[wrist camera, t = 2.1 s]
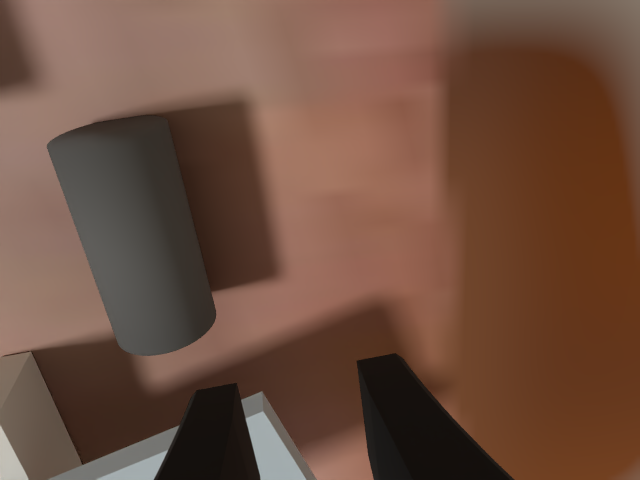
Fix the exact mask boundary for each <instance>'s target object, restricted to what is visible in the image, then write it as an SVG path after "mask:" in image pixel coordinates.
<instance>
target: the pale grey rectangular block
mask: <svg viewBox="0 0 640 480" xmlns="http://www.w3.org/2000/svg"><path fill="white" fill-rule="evenodd" d="M79 466H82V463H81V460H80V458H79V456H78V454H77V452H76V449H75V447H74V445H73V443H72V441H71V438H70V436H69V434H68V432H67V430H66V427H65V425H64V423H63V421H62V419H61V416H60V414H59V412H58V410H57V408H56V405H55V403H54V401H53V399H52V397H51V394H50V392H49V390H48V388H47V386H46V383H45V381H44V379H43V377H42V375H41V372H40V370H39V368H38V366H37V364H36V361H35V359H34V357H33V355H32V353H31V352H26V353H21V354H15V355H9V356H4V357H0V480H47V479H50V478H52V477H55V476H57V475H60V474H62V473H64V472H67V471H69V470H72V469H74V468H77V467H79Z"/></svg>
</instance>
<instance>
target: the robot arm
mask: <svg viewBox="0 0 640 480" xmlns="http://www.w3.org/2000/svg"><path fill="white" fill-rule="evenodd" d="M357 367H358V375H359V383H360V391H361V399H362V408H363V416H364V424H365V432H366V440H367V448H368V456H369V460H370V465H371V469H372V473H373V478H374V480H514V479H513V478H512V477H511V476H510V475H509V474H508V473H507V472H506V471H505V470H504V469H503V468H501V466H499V465H498V464H497V463H496V462H495V461H494V460H493V459H492V458H491V457H490V456H489V455H488V454H487V453H486V452H485V451H484V450H483V449H482V448H481V447H480V446H479V445H478V444H477V442H476V441H475V440H474V439H473V438H472V437H471V436H470V435H469V434H468V433H467V432H466V431H465V430H464V429H463V428H462V427H461V426H460V425H459V424H458V423H457V422H456V421H455V420H454V419H453V418H452V417H451V415H450V414H449V413H448V412H447V411H446V410H445V409H444V408H443V407H442V405H441V404H440V403H439V402H438V401H437V400H436V399H435V398H434V396H433V395H432V394H431V393H430V392H429V391H428V389H427V388H426V387H425V386H424V385H423V383H422V382H421V381H420V380H419V379H418V377H417V376H416V375H415V374H414V372H413V371H412V370H411V369H410V367H409V366H408V365H407V363H406V362H405V361H404V359H403V358H402V357H400V356H399V355H397V354H396V353H395V354H390V355H384V356H379V357H374V358H368V359H363V360H358V361H357ZM154 480H261V479H260V473H259V469H258V465H257V461H256V457H255V454H254V450H253V446H252V442H251V438H250V434H249V430H248V426H247V422H246V418H245V414H244V410H243V406H242V402H241V398H240V394H239V390H238V386H237V383H234V384H228V385H223V386H217V387H212V388H207V389H201V390H197V391H196V392H195V393H194V395H193V396H192V397H191V399H190V402H189V404H188V407H187V409H186V411H185V414H184V416H183V418H182V421H181V423H180V425H179V427H178V430H177V432H176V434H175V436H174V439H173V441H172V443H171V445H170V447H169V449H168V451H167V453H166V456H165V458H164V460H163V462H162V464H161V466H160V468H159V470H158V472H157V474H156V476H155V478H154Z"/></svg>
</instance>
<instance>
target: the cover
mask: <svg viewBox="0 0 640 480" xmlns="http://www.w3.org/2000/svg"><path fill="white" fill-rule="evenodd" d="M241 402H242V406H243V410H244V414H245V418H246V422H247V426H248V430H249V434H250V438H251V442H252V446H253V450H254V454H255V457H256V461H257V465H258V469H259V473H260V479H261V480H317V479H316V478H315V476H314V474H313V473H312V471H311V470H310V468H309V466H308V465H307V463H306V462H305V460H304V458H303V457H302V455H301V453H300V452H299V450H298V449H297V447H296V445H295V444H294V442H293V440H292V439H291V437H290V436H289V434H288V432H287V431H286V429H285V428H284V426H283V424H282V423H281V421H280V419H279V418H278V416H277V415H276V413H275V411H274V410H273V408H272V406H271V405H270V403H269V402H268V400H267V398H266V397H265V395H264V394H263V392H262V391H261V392H259V393H257V394H254V395H252V396H249V397H247V398H244V399H242V400H241ZM178 427H179V426H176V427H174V428H171V429H169V430H167V431H164V432H162V433H159V434H157V435H154V436H152V437H150V438H147V439H145V440H142V441H140V442H137V443H135V444H133V445H130V446H128V447H125V448H123V449H120V450H118V451H116V452H113V453H111V454H108V455H106V456H103V457H101V458H99V459H96V460H94V461H91V462H89V463H86V464H84V465H82V466H79V467H77V468H74V469H72V470H69V471H67V472H64V473H62V474H60V475H57V476H55V477H52V478H50V479H47V480H154V478H155V476H156V474H157V472H158V470H159V468H160V466H161V464H162V462H163V460H164V458H165V456H166V453H167V451H168V449H169V447H170V445H171V443H172V441H173V439H174V436H175V434H176V432H177V430H178Z"/></svg>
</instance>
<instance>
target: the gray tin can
mask: <svg viewBox="0 0 640 480" xmlns="http://www.w3.org/2000/svg"><path fill="white" fill-rule="evenodd" d="M47 149H48V152H49V155H50V157H51V160H52V163H53V166H54V168H55V171H56V174H57V177H58V179H59V182H60V185H61V188H62V190H63V193H64V196H65V199H66V201H67V204H68V207H69V210H70V213H71V215H72V218H73V221H74V224H75V226H76V229H77V232H78V235H79V237H80V240H81V243H82V246H83V248H84V251H85V254H86V257H87V260H88V262H89V265H90V268H91V271H92V273H93V276H94V279H95V282H96V284H97V287H98V290H99V293H100V295H101V298H102V301H103V304H104V306H105V309H106V312H107V315H108V318H109V320H110V323H111V326H112V329H113V331H114V334H115V337H116V340H117V342H118V344H119V346H120V347H121V348H122V349H123V350H124V351H126V352H128V353H131V354H135V355H141V356H151V355H160V354H165V353H169V352H173V351H176V350H178V349H181V348H183V347H186V346H188V345H190V344H191V343H193V342H195V341H196V340H198V339H199V338H201V337H202V336H203V335H204V334H205V333H206V332H207V331H208V330H209V329H210V328H211V327H212V325H213V323H214V322H215V319H216V309H215V305H214V301H213V297H212V293H211V289H210V286H209V282H208V278H207V274H206V270H205V266H204V262H203V258H202V254H201V250H200V246H199V242H198V238H197V234H196V230H195V227H194V223H193V219H192V215H191V211H190V207H189V203H188V199H187V195H186V191H185V187H184V183H183V179H182V175H181V172H180V168H179V164H178V160H177V156H176V152H175V148H174V144H173V140H172V136H171V132H170V128H169V124H168V121H167V119H166V118H163V117H160V116H150V115H145V116H135V117H129V118H122V119H116V120H110V121H103V122H97V123H93V124H89V125H86V126H83V127H79V128H76V129H74V130H71V131H68V132H66V133H64V134H61V135H59V136H57V137H56V138H54V139H53V140H51V141H50V142H49V143H48V144H47Z"/></svg>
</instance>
